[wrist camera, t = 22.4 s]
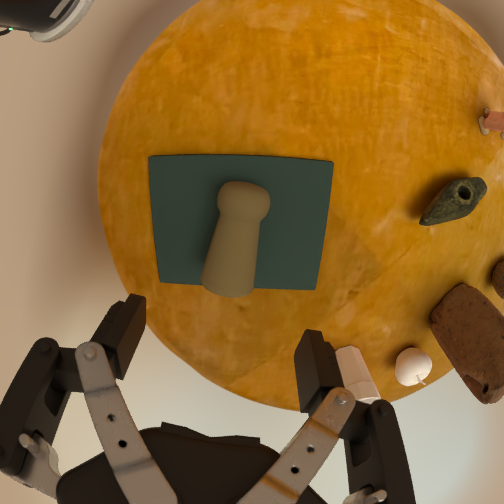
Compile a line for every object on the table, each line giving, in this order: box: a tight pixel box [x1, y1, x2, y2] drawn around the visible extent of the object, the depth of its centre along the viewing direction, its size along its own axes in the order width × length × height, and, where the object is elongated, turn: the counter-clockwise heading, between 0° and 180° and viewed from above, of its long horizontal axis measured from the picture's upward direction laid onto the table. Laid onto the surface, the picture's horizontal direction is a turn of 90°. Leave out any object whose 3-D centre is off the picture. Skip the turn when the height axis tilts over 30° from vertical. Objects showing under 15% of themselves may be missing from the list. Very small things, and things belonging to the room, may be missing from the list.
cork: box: [200, 181, 270, 297], centre depth 28 cm, size 6×6×11 cm
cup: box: [335, 345, 381, 404], centre depth 36 cm, size 7×7×11 cm
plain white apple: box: [395, 348, 432, 386], centre depth 38 cm, size 7×7×8 cm
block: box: [429, 284, 504, 404], centre depth 28 cm, size 11×8×20 cm
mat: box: [148, 154, 334, 290], centre depth 31 cm, size 20×16×1 cm
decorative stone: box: [419, 177, 487, 226], centre depth 26 cm, size 11×8×5 cm
